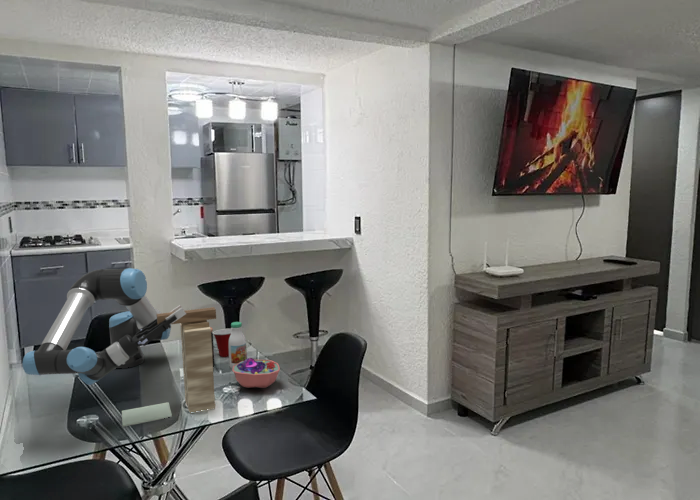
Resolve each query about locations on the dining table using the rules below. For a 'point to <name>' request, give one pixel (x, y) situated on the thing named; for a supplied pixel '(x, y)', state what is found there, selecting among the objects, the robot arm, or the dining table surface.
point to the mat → (146, 414)
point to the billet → (190, 315)
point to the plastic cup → (223, 341)
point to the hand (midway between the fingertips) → (183, 309)
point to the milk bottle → (237, 345)
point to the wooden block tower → (197, 365)
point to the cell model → (256, 372)
